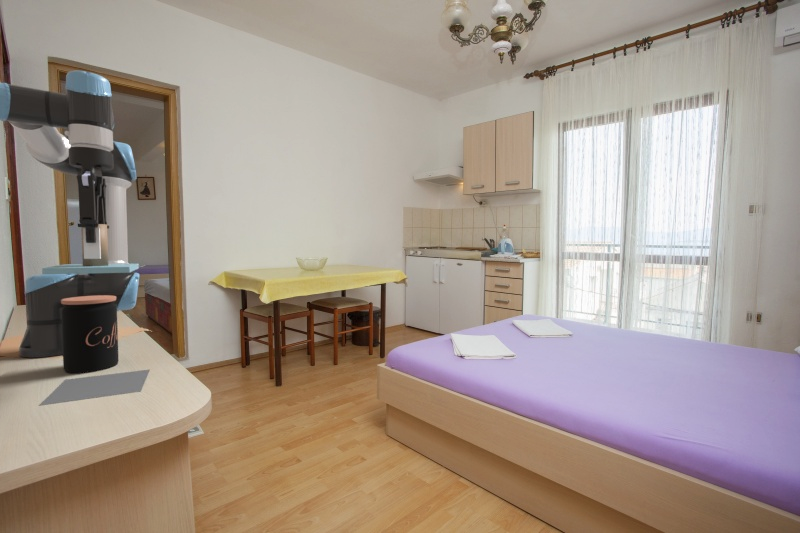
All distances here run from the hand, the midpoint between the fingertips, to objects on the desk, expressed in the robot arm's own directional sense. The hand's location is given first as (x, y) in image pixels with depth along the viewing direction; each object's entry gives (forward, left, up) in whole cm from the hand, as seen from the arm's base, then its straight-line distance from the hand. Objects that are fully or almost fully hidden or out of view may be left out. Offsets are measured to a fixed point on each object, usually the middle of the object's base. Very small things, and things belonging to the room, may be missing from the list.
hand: (95, 257), depth 84 cm
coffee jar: (-14, -4, -28) cm, 32 cm away
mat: (+3, +1, -28) cm, 28 cm away
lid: (0, 0, -3) cm, 3 cm away
